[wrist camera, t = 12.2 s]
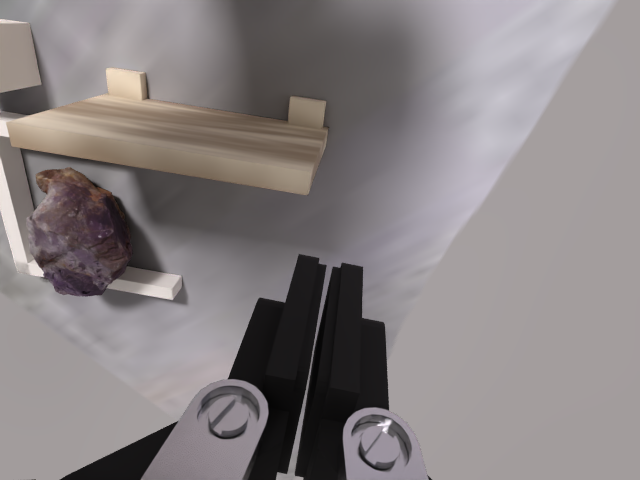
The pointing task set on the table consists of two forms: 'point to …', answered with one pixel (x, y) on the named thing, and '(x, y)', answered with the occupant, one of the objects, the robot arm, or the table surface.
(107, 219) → the rock
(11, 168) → the corral
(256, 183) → the shelf
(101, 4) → the table surface
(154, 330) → the table surface
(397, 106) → the table surface
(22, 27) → the letter cube
